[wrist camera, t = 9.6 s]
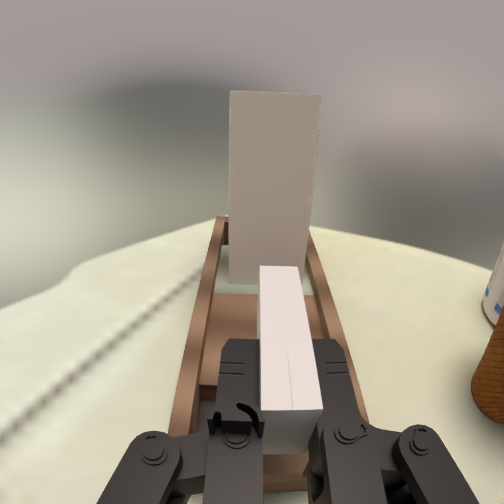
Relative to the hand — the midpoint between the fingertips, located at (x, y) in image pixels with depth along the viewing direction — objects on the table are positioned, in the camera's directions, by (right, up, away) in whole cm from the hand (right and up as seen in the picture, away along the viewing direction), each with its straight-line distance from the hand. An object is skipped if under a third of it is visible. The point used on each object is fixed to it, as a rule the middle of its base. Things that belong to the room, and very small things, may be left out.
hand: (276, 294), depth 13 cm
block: (0, +1, +16) cm, 16 cm away
